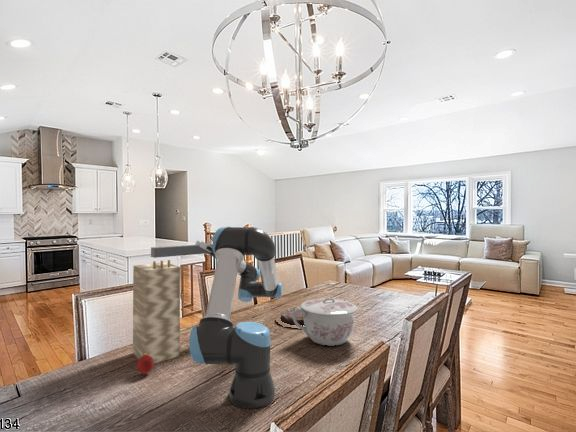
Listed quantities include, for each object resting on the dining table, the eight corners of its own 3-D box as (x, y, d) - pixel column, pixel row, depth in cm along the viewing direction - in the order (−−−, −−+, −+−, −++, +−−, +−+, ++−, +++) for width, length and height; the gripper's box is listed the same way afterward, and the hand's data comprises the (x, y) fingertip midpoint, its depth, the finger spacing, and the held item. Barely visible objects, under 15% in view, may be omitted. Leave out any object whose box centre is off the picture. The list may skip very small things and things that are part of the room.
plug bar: (154, 257, 134) (154, 248, 134) (150, 256, 137) (150, 247, 137) (212, 252, 152) (212, 244, 152) (208, 252, 155) (208, 243, 155)
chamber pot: (365, 337, 159) (365, 295, 159) (345, 358, 135) (346, 309, 135) (314, 326, 173) (314, 288, 173) (288, 344, 150) (289, 299, 150)
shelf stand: (145, 366, 126) (146, 262, 126) (132, 353, 138) (133, 258, 138) (179, 356, 136) (180, 259, 136) (165, 344, 148) (165, 256, 148)
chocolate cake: (267, 326, 174) (267, 314, 174) (284, 312, 200) (284, 301, 200) (317, 333, 165) (317, 320, 165) (328, 316, 191) (328, 306, 191)
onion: (149, 369, 124) (149, 348, 124) (156, 373, 121) (156, 352, 121) (134, 374, 120) (134, 353, 120) (141, 379, 116) (141, 357, 116)
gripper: (229, 255, 171) (194, 235, 157) (247, 259, 158) (211, 237, 145) (223, 268, 168) (186, 249, 155) (241, 273, 156) (203, 252, 142)
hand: (198, 243), depth 150 cm, fingers closed on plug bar, 4 cm apart
